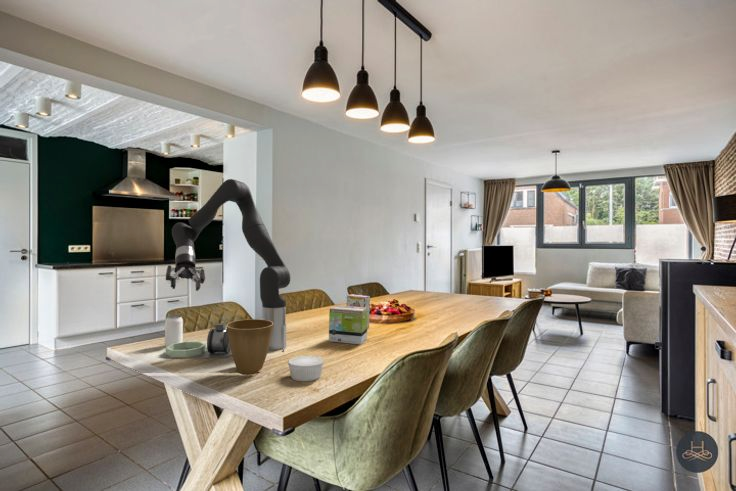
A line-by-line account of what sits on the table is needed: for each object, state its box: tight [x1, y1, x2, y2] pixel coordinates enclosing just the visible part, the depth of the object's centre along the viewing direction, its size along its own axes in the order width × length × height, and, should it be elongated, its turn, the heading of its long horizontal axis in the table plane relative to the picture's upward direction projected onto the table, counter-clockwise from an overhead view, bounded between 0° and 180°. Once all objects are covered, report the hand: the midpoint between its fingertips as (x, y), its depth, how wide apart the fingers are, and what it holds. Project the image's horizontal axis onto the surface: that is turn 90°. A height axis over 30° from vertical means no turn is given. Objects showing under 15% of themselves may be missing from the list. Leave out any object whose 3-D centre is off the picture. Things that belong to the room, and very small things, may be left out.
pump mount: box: [158, 340, 232, 359], centre depth 149 cm, size 24×14×4 cm, turn 93°
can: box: [164, 314, 184, 348], centre depth 161 cm, size 6×6×12 cm
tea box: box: [328, 304, 368, 346], centre depth 174 cm, size 15×10×15 cm, turn 76°
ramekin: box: [287, 355, 324, 382], centre depth 128 cm, size 11×11×5 cm
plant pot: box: [226, 318, 273, 376], centre depth 132 cm, size 15×15×16 cm
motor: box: [206, 322, 231, 353], centre depth 150 cm, size 7×9×11 cm
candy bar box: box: [346, 293, 371, 330], centre depth 201 cm, size 11×5×16 cm, turn 58°
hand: (186, 288), depth 155 cm, fingers open, 8 cm apart
